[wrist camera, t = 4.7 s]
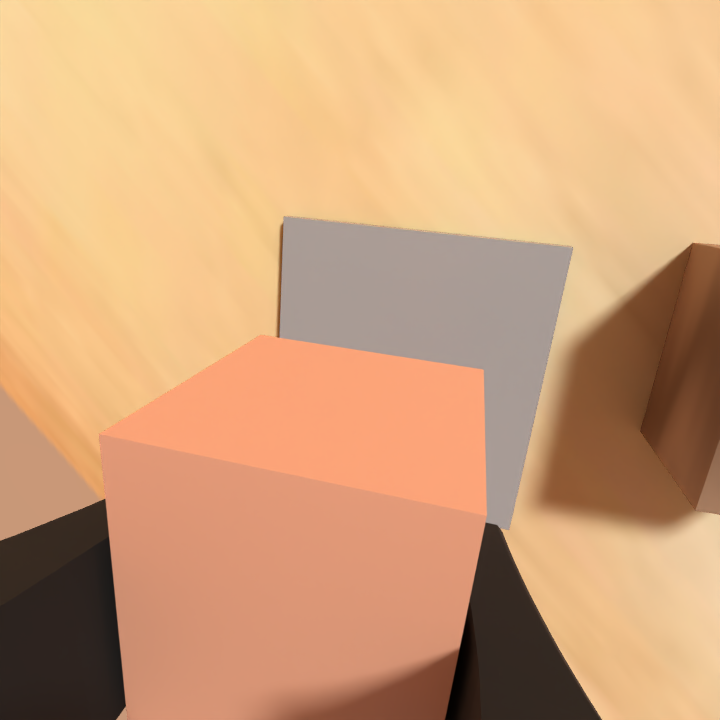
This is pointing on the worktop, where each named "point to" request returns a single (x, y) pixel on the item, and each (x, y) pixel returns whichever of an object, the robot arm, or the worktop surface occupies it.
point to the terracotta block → (297, 535)
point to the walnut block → (691, 385)
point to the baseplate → (435, 315)
